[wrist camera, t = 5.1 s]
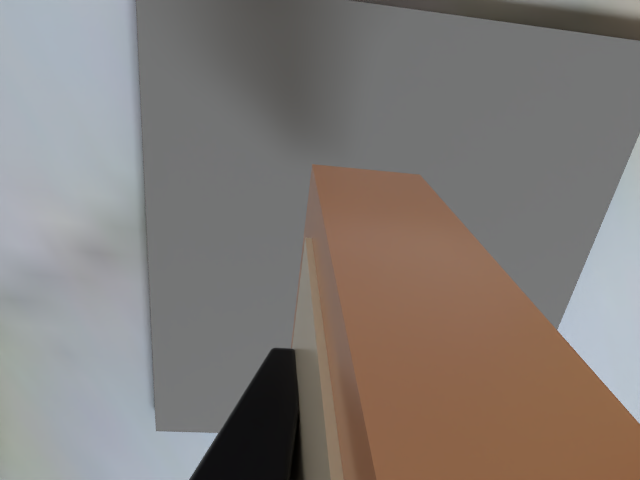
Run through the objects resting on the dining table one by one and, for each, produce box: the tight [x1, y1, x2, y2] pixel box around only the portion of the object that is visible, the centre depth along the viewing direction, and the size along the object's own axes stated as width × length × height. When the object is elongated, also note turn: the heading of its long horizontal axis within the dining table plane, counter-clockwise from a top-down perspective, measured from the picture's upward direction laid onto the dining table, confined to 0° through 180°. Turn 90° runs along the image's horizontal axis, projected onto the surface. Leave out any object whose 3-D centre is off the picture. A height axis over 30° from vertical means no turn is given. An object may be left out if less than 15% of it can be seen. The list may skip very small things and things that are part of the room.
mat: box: [136, 0, 640, 433], centre depth 16 cm, size 15×16×1 cm
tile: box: [290, 164, 640, 480], centre depth 6 cm, size 2×6×7 cm, turn 173°
